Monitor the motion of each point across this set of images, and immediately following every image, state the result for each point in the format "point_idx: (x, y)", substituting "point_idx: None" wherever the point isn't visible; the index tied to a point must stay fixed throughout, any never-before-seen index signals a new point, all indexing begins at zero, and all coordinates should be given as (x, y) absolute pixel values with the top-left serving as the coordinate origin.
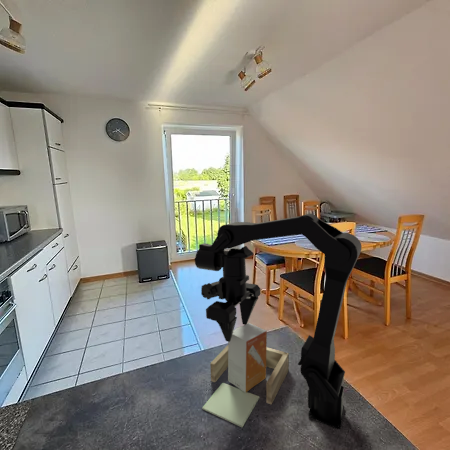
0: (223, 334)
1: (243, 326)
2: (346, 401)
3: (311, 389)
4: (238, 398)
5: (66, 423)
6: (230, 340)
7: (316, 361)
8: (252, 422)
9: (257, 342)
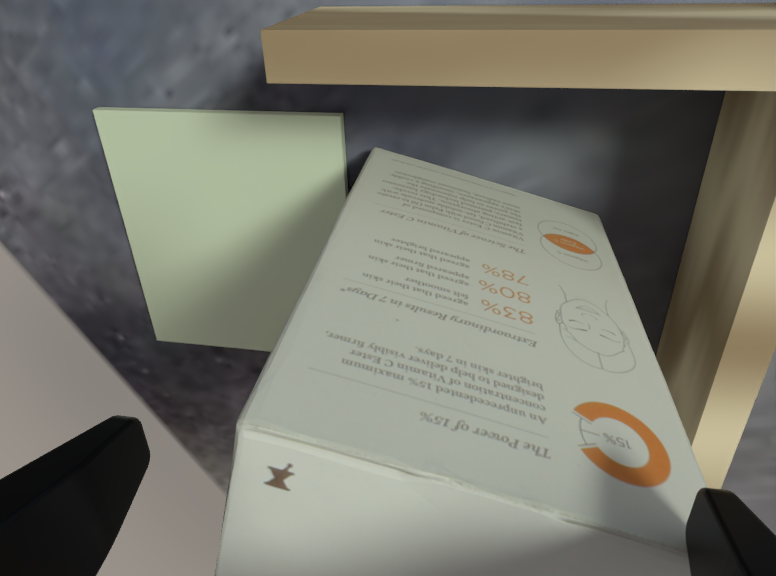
0: (6, 481)
1: (558, 545)
2: None
3: None
4: (279, 270)
5: None
6: (142, 472)
7: None
8: (212, 362)
9: None
